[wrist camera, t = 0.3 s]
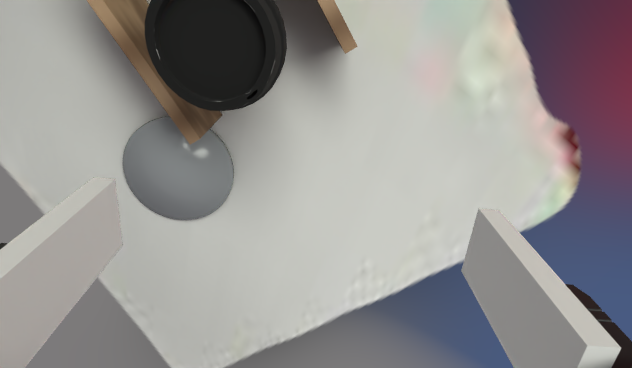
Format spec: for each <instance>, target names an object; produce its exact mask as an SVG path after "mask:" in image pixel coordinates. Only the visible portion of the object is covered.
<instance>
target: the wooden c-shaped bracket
mask: <svg viewBox="0 0 632 368" xmlns="http://www.w3.org/2000/svg"><path fill="white" fill-rule="evenodd" d="M317 1H318V3H319V5H320V7H321V9H322V11H323V13H324V15H325V17H326V19H327V20H328V22H329V24H330V26H331V28H332V30H333V32H334V34H335V36H336V38H337V40H338V42H339V43H340V45H341V47H342V49H343V50H344V52H345V54H346V53H347V52H349V51H351V50H352V49H354V48H356V47H358V46H357V44H356V42H355V40H354V39H353V37H352V35H351V33H350V31H349V29H348V27H347V25H346V23H345V21H344V19H343V17H342V15H341V13H340V11H339V9H338V7H337V5H336V3H335V1H334V0H317ZM87 2H88V3H89V4H90V6H91V7H92V9H93V10H94V11H95V13H96V14H97V16H98V17H99V18H100V20H101V21H102V22H103V24H104V25H105V27H106V28H107V29H108V31H109V32H110V34H111V35H112V36H113V38H114V39H115V41H116V42H117V43H118V45H119V46H120V48H121V49H122V50H123V52H124V53H125V55H126V56H127V57H128V59H129V60H130V62H131V63H132V64H133V66H134V67H135V69H136V70H137V71H138V73H139V74H140V76H141V77H142V78H143V80H144V81H145V82H146V84H147V85H148V87H149V88H150V89H151V91H152V92H153V94H154V95H155V96H156V98H157V99H158V101H159V102H160V103H161V105H162V106H163V108H164V109H165V110H166V112H167V113H168V115H169V116H170V117H171V119H172V120H173V122H174V123H175V124H176V126H177V127H178V129H179V130H180V131H181V133H182V134H183V136H184V137H185V138H186V140H187V141H188V142H189V144H192V143H194V142H196V141H197V140H199V139H201V137H202V136H203V135H204V134H205V133H206V132H207V131H208V130H209V129H210V128H211V127H212V126H213V125H214V123H215V122H216V121H217V120H218V119H219V118H220V117H221V116H222V114H221V112H220V111H209V110H206V109H202V108H198V107H196V106H194V105H192V104H190V103H188V102H186V101H185V100H184V99H182V98H181V97H179V96H178V95H177V94H176V93H175V92H173V91H172V90H171V89H170V88H169V87H168V86H167V85H166V83H165V82H164V81H163V79H162V78H161V77H160V76H159V74H158V72H157V71H156V69H155V67H154V65H153V63H152V61H151V58H150V56H149V53H148V50H147V46H146V40H145V18H146V13H147V8H148V6H149V4H148V3H147V1H146V0H87Z"/></svg>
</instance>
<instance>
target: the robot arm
mask: <svg viewBox="0 0 632 368" xmlns="http://www.w3.org/2000/svg"><path fill="white" fill-rule="evenodd" d="M122 246H123V242H122V233H121V224H120V215H119V206H118V198H117V189H116V180H115V179H110V178H98V177H93V178H92V179H91V180H89V181H88V182H87V183H85V184H84V185H83V186H81V187H80V188H79V189H78V190H76V191H75V192H74V193H72V194H71V195H70V196H69V197H67V198H66V199H65V200H63V201H62V202H61V203H60V204H58V205H57V206H56V207H54V208H53V209H52V210H51V211H49V212H48V213H47V214H45V215H44V216H43V217H42V218H40V219H39V220H38V221H36V222H35V223H34V224H33V225H31V226H30V227H29V228H27V229H26V230H25V231H24V232H22V233H21V234H20V235H18V236H17V237H16V238H15V239H13V240H12V241H11V242H9V243H8V244H7V243H1V244H0V368H25V367H26V365H27V364H28V363H29V362H30V360H31V359H32V358H33V357H34V355H35V354H36V353H37V352H38V350H39V349H40V348H41V347H42V345H43V344H44V343H45V342H46V340H47V339H48V338H49V337H50V335H51V334H52V333H53V332H54V331H55V329H56V328H57V327H58V325H59V324H60V323H61V322H62V321H63V319H64V318H65V317H66V316H67V314H68V313H69V312H70V311H71V309H72V308H73V307H74V306H75V304H76V303H77V302H78V300H79V299H80V298H81V297H82V296H83V294H84V293H85V292H86V291H87V289H88V288H89V287H90V286H91V284H92V283H93V282H94V281H95V279H96V278H97V277H98V276H99V274H100V273H101V272H102V271H103V269H104V268H105V267H106V266H107V264H108V263H109V262H110V261H111V260H112V258H113V257H114V256H115V255H116V253H117V252H118V251H119V250H120V248H121V247H122ZM462 273H463V275H464V276H465V278H466V280H467V282H468V284H469V286H470V287H471V289H472V291H473V293H474V295H475V297H476V298H477V300H478V302H479V304H480V306H481V308H482V309H483V311H484V313H485V315H486V317H487V319H488V321H489V322H490V324H491V326H492V328H493V330H494V332H495V333H496V335H497V337H498V339H499V341H500V343H501V344H502V347H503V348H504V350H505V352H506V354H507V356H508V358H509V359H510V361H511V363H512V365H513V367H514V368H632V341H631V340H630V339H629V338H628V337H627V336H626V335H625V334H624V333H623V332H622V331H621V330H620V328H619V327H618V326H617V325H616V324H615V323H613V322H612V321H611V319H610V318H609V317H608V316H607V314H605V312H602V309H601V308H600V307H599V306H598V305H597V304H596V303H595V302H594V301H593V300H592V299H591V297H590V296H588V295H587V294H585V293H584V292H582V291H581V290H579V289H578V288H577V287H575V286H574V285H568V284H564V283H563V282H562V280H561V279H560V278H559V277H558V276H557V275H556V274H555V272H554V271H553V270H552V269H551V268H550V267H549V266H548V265H547V263H546V262H545V261H544V260H543V259H542V258H541V257H540V256H539V254H538V253H537V252H536V251H535V250H534V249H533V248H532V247H531V245H530V244H529V243H528V242H527V241H526V240H525V239H524V238H523V236H522V235H521V234H520V233H519V232H518V231H517V230H516V228H515V227H514V226H513V225H512V224H511V223H510V222H509V221H508V219H507V218H506V217H505V216H504V215H503V214H502V213H501V211H500V210H493V209H481V208H479V209H478V213H477V216H476V220H475V224H474V227H473V231H472V234H471V238H470V242H469V245H468V249H467V253H466V256H465V260H464V264H463V267H462Z"/></svg>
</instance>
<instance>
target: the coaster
mask: <svg viewBox="0 0 632 368" xmlns="http://www.w3.org/2000/svg"><path fill="white" fill-rule="evenodd" d="M123 169H124V174H125V178H126V180H127V183H128V185H129V187H130V189H131V191H132V192H133V193H134V195H135V196H136V197H137V198H138V199H139V200H140V202H142V203H143V204H144V205H145V206H146V207H148V208H149V209H151V210H152V211H154V212H156V213H158V214H160V215H162V216H165V217H168V218H172V219H178V220H192V219H198V218H201V217H204V216H206V215H209V214H210V213H212V212H214V211H215V210H216V209H218V208H219V207H220V206H221V205H222V204H223V202H224V201H225V200H226V198H227V196H228V194H229V192H230V190H231V187H232V184H233V178H234V169H233V163H232V159H231V156H230V154H229V151H228V149H227V148H226V146H225V144H224V143H223V142H222V140H221V139H220V138H219V137H218V136H217V135H216V134H215V133H214V132H213V131H212V130H210V129H209V130H208V131H207V132H206V133H205V134H204V135H203V136H202V137H201V139H199V140H197V141H196V142H194V143H192V144H189V142H188V141H187V140H186V138H185V137H184V136H183V134H182V133H181V131H180V130H179V129H178V127H177V126H176V124H175V123H174V122H173V120H172V119H171V117H163V118H158V119H155V120H152V121H150V122H148V123H146V124H145V125H143V126H142V127H140V128H139V129H138V130H137V131H136V132H135V133H134V134H133V135H132V136H131V138H130V139H129V141H128V143H127V145H126V147H125V150H124V155H123Z"/></svg>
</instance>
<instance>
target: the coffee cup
mask: <svg viewBox="0 0 632 368" xmlns="http://www.w3.org/2000/svg"><path fill="white" fill-rule="evenodd" d="M145 40H146V46H147V50H148V53H149V56H150V58H151V61H152V63H153V65H154V67H155V69H156V71H157V72H158V74H159V76H160V77H161V78H162V79H163V81H164V82H165V83H166V85H167V86H168V87H169V88H170V89H171V90H172V91H173V92H175V93H176V94H177V95H178V96H179V97H181V98H182V99H184V100H185V101H186V102H188V103H190V104H192V105H194V106H196V107H198V108H202V109H206V110H209V111H226V110H234V109H239V108H243V107H246V106H248V105H251V104H253V103H255V102H256V101H258V100H259V99H260V98H262V97H263V96H264V95H265V94H266V93H267V92H268V91H269V90H270V89H271V88H272V87H273V85H274V83H275V82H276V80H277V78H278V77H279V75H280V72H281V70H282V67H283V64H284V61H285V55H286V49H287V45H286V31H285V27H284V22H283V19H282V17H281V14H280V12H279V9H278V7H277V5H276V4H275V2H274V1H273V0H151V2H150V4H149V6H148V8H147V13H146V18H145Z"/></svg>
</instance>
